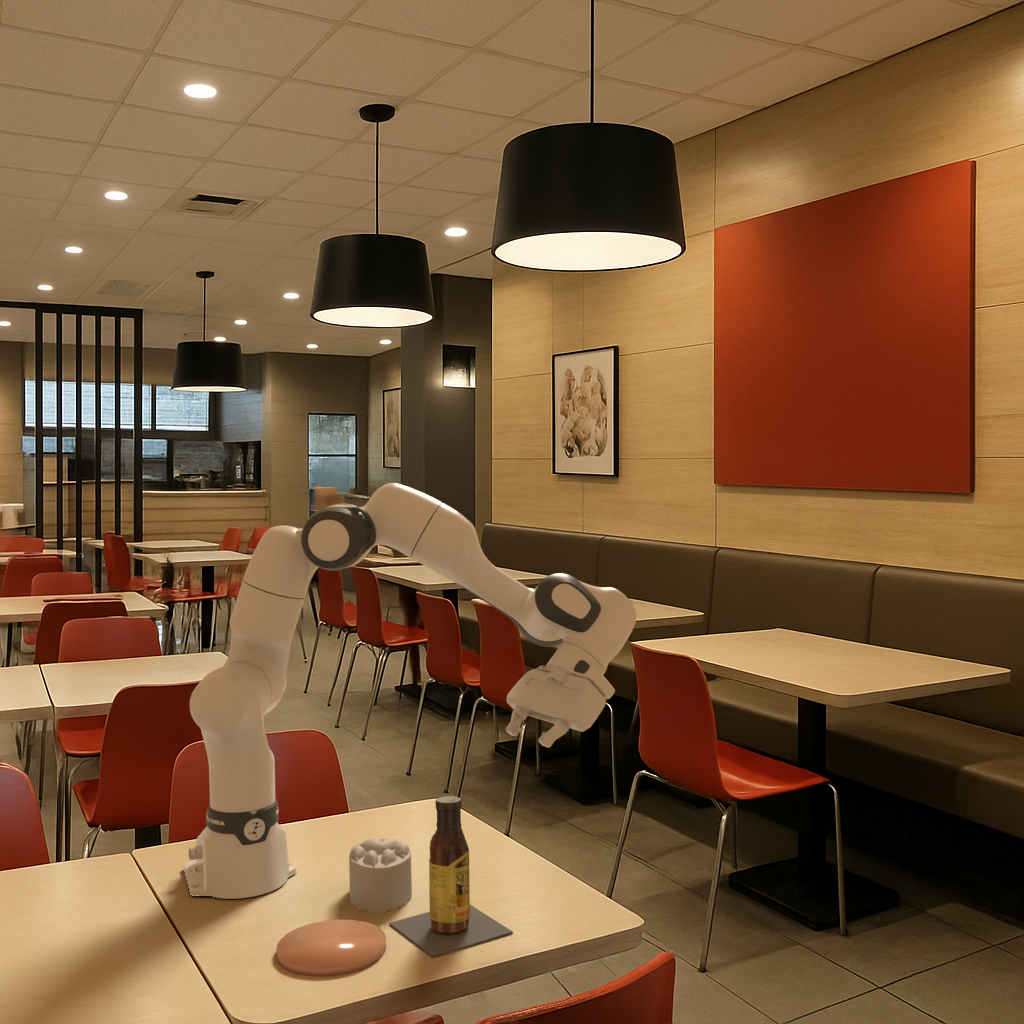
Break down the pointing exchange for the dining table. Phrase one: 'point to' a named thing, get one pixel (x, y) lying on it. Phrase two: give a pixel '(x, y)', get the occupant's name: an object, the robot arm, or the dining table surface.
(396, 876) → the lumpy-topped squat cylinder
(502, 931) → the rubber mat
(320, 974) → the terracotta plate
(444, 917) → the sauce bottle
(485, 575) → the robot arm
